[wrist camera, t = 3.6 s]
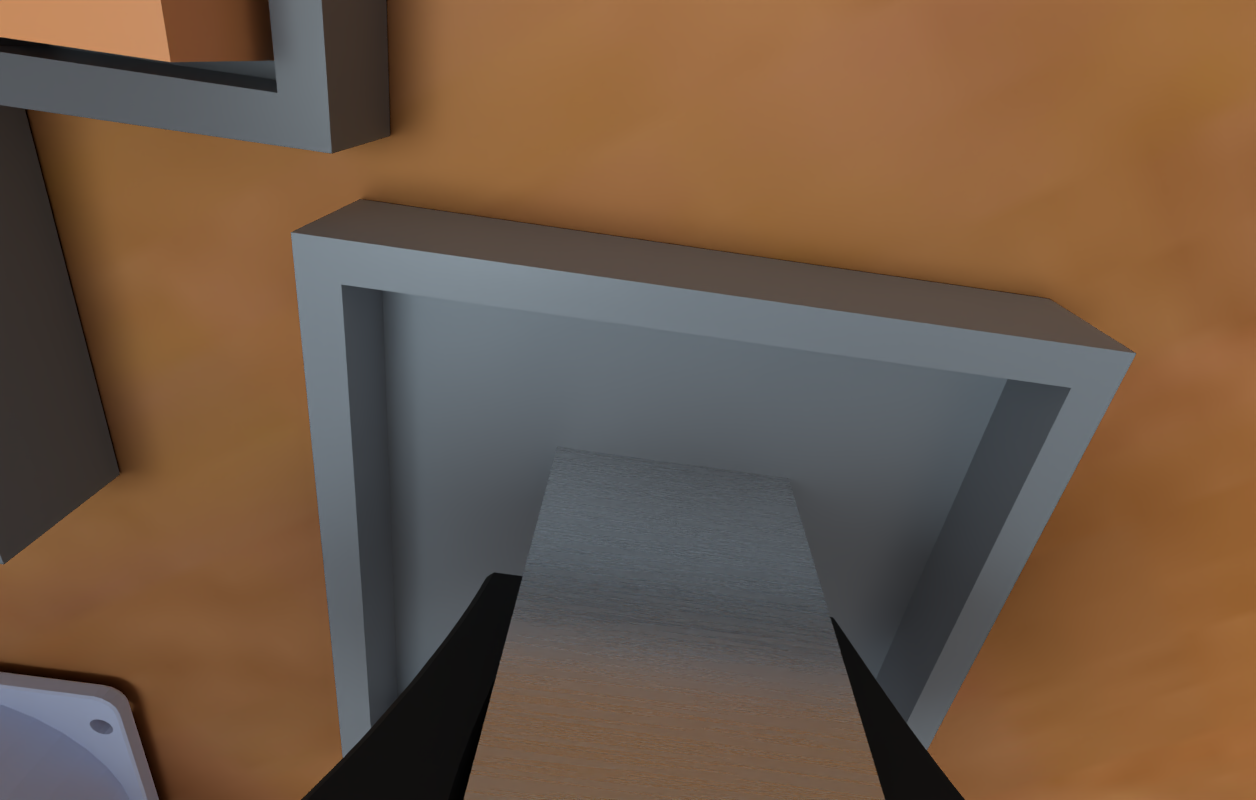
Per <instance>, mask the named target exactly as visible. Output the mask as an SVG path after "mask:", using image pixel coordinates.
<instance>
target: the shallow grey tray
mask: <svg viewBox="0 0 1256 800" xmlns="http://www.w3.org/2000/svg"><path fill="white" fill-rule="evenodd" d="M291 238H292V248H293V258H294V268H295V278H296V289H297V299H298V309H299V319H300V329H301V339H302V349H303V360H304V370H305V380H306V390H307V400H308V410H309V420H310V431H311V441H312V451H313V461H314V471H315V481H316V491H317V502H318V512H319V522H320V532H321V542H322V552H323V562H324V572H325V583H326V593H327V603H328V613H329V623H330V633H331V643H332V654H333V664H334V674H335V684H336V694H337V704H338V714H339V725H340V735H341V745H342V755H343V758H344V757H345V755H346V754H347V753H348V752H349V751H350V750H351V749H352V748H353V747H354V746H355V745H356V744H357V743H358V742H359V741H360V740H361V739H362V737H363V736H364V735H365V734H366V733H367V732H368V731H369V730H370V729H371V727H372V726H373V725H374V724H375V723H376V722H377V721H378V719H379V718H380V717H381V716H382V715H383V714H384V713H385V712H386V710H387V709H388V708H389V707H390V706H391V705H392V704H393V702H394V701H395V700H396V699H397V698H398V697H399V696H400V695H401V693H402V692H403V691H404V690H405V689H406V688H407V686H408V685H409V684H410V683H411V682H412V680H413V679H414V678H415V677H416V675H417V674H418V673H419V672H420V670H421V669H422V668H423V666H424V665H425V664H426V663H427V661H428V660H429V659H430V658H431V656H432V655H433V654H434V653H435V651H436V650H437V649H438V647H439V646H440V645H441V644H442V642H443V641H444V640H445V638H446V637H447V636H448V634H449V633H450V632H451V630H452V629H453V627H454V626H455V625H456V623H457V622H458V621H459V619H460V618H461V616H462V615H463V613H464V612H465V610H466V609H467V608H468V606H469V605H470V603H471V601H472V600H473V598H474V597H475V595H476V594H477V592H478V590H479V589H480V587H481V585H482V584H483V582H484V580H485V578H486V577H487V576H489V575H490V574H492V573H494V572H496V573H503V574H511V575H518V576H523V574H524V570H525V566H526V562H527V558H528V555H529V551H530V547H531V543H532V540H533V536H534V532H535V528H536V525H537V521H538V517H539V513H540V509H541V506H542V502H543V498H544V494H545V491H546V487H547V483H548V479H549V476H550V472H551V468H552V464H553V460H554V457H555V453H556V449H557V447H563V448H571V449H578V450H585V451H593V452H600V453H607V454H614V455H622V456H629V457H636V458H644V459H651V460H658V461H665V462H673V463H680V464H687V465H695V466H702V467H709V468H716V469H724V470H731V471H738V472H745V473H753V474H760V475H767V476H775V477H782V478H789V482H790V485H791V488H792V492H793V495H794V498H795V502H796V505H797V508H798V512H799V515H800V518H801V522H802V525H803V528H804V532H805V535H806V538H807V542H808V545H809V548H810V552H811V555H812V558H813V562H814V565H815V568H816V572H817V575H818V578H819V582H820V585H821V588H822V592H823V595H824V598H825V602H826V605H827V608H828V612H829V615H830V617H833V618H834V619H835V621H836V622H837V623H838V625H839V626H840V628H841V629H842V631H843V632H844V633H845V635H846V636H847V638H848V639H849V641H850V642H851V644H852V645H853V647H854V648H855V650H856V651H857V653H858V654H859V655H860V657H861V658H862V660H863V661H864V663H865V664H866V666H867V667H868V669H869V670H870V672H871V673H872V675H873V676H874V677H875V679H876V680H877V682H878V683H879V685H880V686H881V688H882V689H883V690H884V692H885V693H886V695H887V696H888V698H889V699H890V701H891V702H892V703H893V705H894V706H895V708H896V709H897V710H898V712H899V713H900V715H901V716H902V717H903V719H904V720H905V722H906V723H907V724H908V726H909V727H910V728H911V730H912V731H913V732H914V734H915V735H916V737H917V738H918V739H919V741H920V742H921V743H922V745H923V746H924V747H925V749H926V750H927V749H928V747H929V745H930V744H931V742H932V740H933V738H934V736H935V734H936V732H937V730H938V728H939V726H940V725H941V723H942V721H943V719H944V717H945V715H946V713H947V711H948V709H949V708H950V706H951V704H952V702H953V700H954V698H955V696H956V694H957V692H958V690H959V689H960V687H961V685H962V683H963V681H964V679H965V677H966V675H967V673H968V671H969V670H970V668H971V666H972V664H973V662H974V660H975V658H976V656H977V654H978V653H979V651H980V649H981V647H982V645H983V643H984V641H985V639H986V637H987V635H988V634H989V632H990V630H991V628H992V626H993V624H994V622H995V620H996V618H997V617H998V615H999V613H1000V611H1001V609H1002V607H1003V605H1004V603H1005V601H1006V599H1007V598H1008V596H1009V594H1010V592H1011V590H1012V588H1013V586H1014V584H1015V582H1016V580H1017V579H1018V577H1019V575H1020V573H1021V571H1022V569H1023V567H1024V565H1025V563H1026V562H1027V560H1028V558H1029V556H1030V554H1031V552H1032V550H1033V548H1034V546H1035V544H1036V543H1037V541H1038V539H1039V537H1040V535H1041V533H1042V531H1043V529H1044V527H1045V525H1046V524H1047V522H1048V520H1049V518H1050V516H1051V514H1052V512H1053V510H1054V508H1055V507H1056V505H1057V503H1058V501H1059V499H1060V497H1061V495H1062V493H1063V491H1064V489H1065V488H1066V486H1067V484H1068V482H1069V480H1070V478H1071V476H1072V474H1073V472H1074V471H1075V469H1076V467H1077V465H1078V463H1079V461H1080V459H1081V457H1082V455H1083V453H1084V452H1085V450H1086V448H1087V446H1088V444H1089V442H1090V440H1091V438H1092V436H1093V434H1094V433H1095V431H1096V429H1097V427H1098V425H1099V423H1100V421H1101V419H1102V417H1103V416H1104V414H1105V412H1106V410H1107V408H1108V406H1109V404H1110V402H1111V400H1112V398H1113V397H1114V395H1115V393H1116V391H1117V389H1118V387H1119V385H1120V383H1121V381H1122V380H1123V378H1124V376H1125V374H1126V372H1127V370H1128V368H1129V366H1130V364H1131V362H1132V361H1133V359H1134V357H1135V355H1136V353H1135V352H1133V351H1132V350H1130V349H1128V348H1127V347H1125V346H1124V345H1122V344H1120V343H1119V342H1117V341H1116V340H1114V339H1112V338H1111V337H1109V336H1108V335H1106V334H1105V333H1103V332H1101V331H1100V330H1098V329H1097V328H1095V327H1093V326H1092V325H1090V324H1089V323H1087V322H1085V321H1084V320H1082V319H1081V318H1079V317H1078V316H1076V315H1074V314H1073V313H1071V312H1070V311H1068V310H1066V309H1065V308H1063V307H1062V306H1060V305H1058V304H1057V303H1055V302H1054V301H1052V300H1050V299H1047V298H1040V297H1033V296H1026V295H1019V294H1012V293H1006V292H999V291H992V290H985V289H978V288H971V287H964V286H957V285H950V284H943V283H936V282H929V281H923V280H916V279H909V278H902V277H895V276H888V275H881V274H874V273H867V272H860V271H853V270H846V269H840V268H833V267H826V266H819V265H812V264H805V263H798V262H791V261H784V260H777V259H770V258H764V257H757V256H750V255H743V254H736V253H729V252H722V251H715V250H708V249H701V248H694V247H687V246H681V245H674V244H667V243H660V242H653V241H646V240H639V239H632V238H625V237H618V236H611V235H604V234H598V233H591V232H584V231H577V230H570V229H563V228H556V227H549V226H542V225H535V224H528V223H521V222H515V221H508V220H501V219H494V218H487V217H480V216H473V215H466V214H459V213H452V212H445V211H438V210H432V209H425V208H418V207H411V206H404V205H397V204H390V203H383V202H376V201H369V200H362V199H359V200H357V201H355V202H353V203H351V204H349V205H347V206H345V207H343V208H341V209H339V210H337V211H334V212H332V213H330V214H328V215H326V216H324V217H322V218H320V219H318V220H316V221H314V222H312V223H310V224H307V225H305V226H303V227H301V228H299V229H297V230H295V231H293V232H291Z"/></svg>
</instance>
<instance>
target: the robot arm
mask: <svg viewBox="0 0 1256 800" xmlns="http://www.w3.org/2000/svg"><path fill="white" fill-rule="evenodd" d="M522 577H523V576H518V575H511V574H503V573H496V572H494V573H492V574H490V575H489V576H487V577H486V578H485V580H484V582H483V584H482V585H481V587H480V589H479V590H478V592H477V594H476V595H475V597H474V598H473V600H472V601H471V603H470V605H469V606H468V608H467V609H466V610H465V612H464V613H463V615H462V616H461V618H460V619H459V621H458V622H457V623H456V625H455V626H454V627H453V629H452V630H451V632H450V633H449V634H448V636H447V637H446V638H445V640H444V641H443V642H442V644H441V645H440V646H439V647H438V649H437V650H436V651H435V653H434V654H433V655H432V656H431V658H430V659H429V660H428V661H427V663H426V664H425V665H424V666H423V668H422V669H421V670H420V672H419V673H418V674H417V675H416V677H415V678H414V679H413V680H412V682H411V683H410V684H409V685H408V686H407V688H406V689H405V690H404V691H403V692H402V693H401V695H400V696H399V697H398V698H397V699H396V700H395V701H394V702H393V704H392V705H391V706H390V707H389V708H388V709H387V710H386V712H385V713H384V714H383V715H382V716H381V717H380V718H379V719H378V721H377V722H376V723H375V724H374V725H373V726H372V727H371V729H370V730H369V731H368V732H367V733H366V734H365V735H364V736H363V737H362V739H361V740H360V741H359V742H358V743H357V744H356V745H355V746H354V747H353V748H352V749H351V750H350V751H349V752H348V753H347V754H346V755H345V757H344V758H343V759H342V760H341V761H340V762H339V763H338V764H337V765H336V766H335V767H334V768H333V769H332V770H331V771H330V772H329V773H328V774H327V775H326V776H325V777H324V778H323V779H322V780H321V781H320V782H319V783H318V784H317V785H316V786H315V787H314V788H313V789H312V790H311V791H310V792H309V793H308V794H307V795H306V796H305V797H304V798H303V799H301V800H464V796H465V792H466V788H467V785H468V781H469V777H470V773H471V770H472V766H473V762H474V758H475V755H476V751H477V747H478V743H479V739H480V736H481V732H482V728H483V724H484V721H485V717H486V713H487V709H488V706H489V702H490V698H491V694H492V690H493V687H494V683H495V679H496V675H497V672H498V668H499V664H500V660H501V656H502V653H503V649H504V645H505V641H506V638H507V634H508V630H509V626H510V623H511V619H512V615H513V611H514V607H515V604H516V600H517V596H518V592H519V589H520V585H521V581H522ZM830 618H831V622H832V625H833V628H834V631H835V635H836V638H837V641H838V645H839V648H840V651H841V655H842V658H843V661H844V665H845V668H846V671H847V675H848V678H849V681H850V685H851V688H852V691H853V695H854V698H855V701H856V705H857V708H858V711H859V715H860V718H861V721H862V725H863V728H864V731H865V735H866V738H867V741H868V745H869V748H870V751H871V755H872V758H873V761H874V765H875V768H876V771H877V775H878V778H879V781H880V785H881V788H882V791H883V795H884V798H885V800H965V799H964V798H963V797H962V796H961V794H960V793H959V792H958V791H957V789H956V788H955V787H954V786H953V784H952V783H951V782H950V780H949V779H948V778H947V777H946V775H945V774H944V773H943V771H942V770H941V769H940V767H939V766H938V765H937V764H936V762H935V761H934V760H933V758H932V757H931V756H930V754H929V753H928V752H927V750H926V749H925V747H924V746H923V745H922V743H921V742H920V741H919V739H918V738H917V737H916V735H915V734H914V732H913V731H912V730H911V728H910V727H909V726H908V724H907V723H906V722H905V720H904V719H903V717H902V716H901V715H900V713H899V712H898V710H897V709H896V708H895V706H894V705H893V703H892V702H891V701H890V699H889V698H888V696H887V695H886V693H885V692H884V690H883V689H882V688H881V686H880V685H879V683H878V682H877V680H876V679H875V677H874V676H873V675H872V673H871V672H870V670H869V669H868V667H867V666H866V664H865V663H864V661H863V660H862V658H861V657H860V655H859V654H858V653H857V651H856V650H855V648H854V647H853V645H852V644H851V642H850V641H849V639H848V638H847V636H846V635H845V633H844V632H843V631H842V629H841V628H840V626H839V625H838V623H837V622H836V621H835V619H834V618H833V617H830ZM0 800H159V798H158V795H157V792H156V788H155V785H154V782H153V779H152V776H151V772H150V769H149V766H148V763H147V760H146V756H145V753H144V750H143V747H142V743H141V740H140V737H139V734H138V731H137V727H136V724H135V721H134V718H133V715H132V711H131V708H130V705H129V702H128V699H127V698H126V696H125V695H124V694H123V693H122V692H121V691H119V690H117V689H115V688H113V687H111V686H107V685H100V684H93V683H85V682H77V681H69V680H61V679H53V678H46V677H38V676H30V675H22V674H14V673H6V672H0Z"/></svg>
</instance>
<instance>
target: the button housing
mask: <svg viewBox="0 0 1256 800" xmlns="http://www.w3.org/2000/svg"><path fill="white" fill-rule="evenodd" d="M268 1H269V11H270V22H271V32H272V42H273V52H274V61H218V62H166V61H159V60H152V59H145V58H139V57H132V56H125V55H118V54H112V53H105V52H98V51H91V50H85V49H78V48H71V47H64V46H58V45H51V44H44V43H37V42H31V41H24V40H17V39H10V38H4V37H0V105H3V106H10V107H17V108H24V109H31V110H38V111H44V112H51V113H58V114H65V115H72V116H79V117H86V118H92V119H99V120H106V121H113V122H120V123H127V124H134V125H140V126H147V127H154V128H161V129H168V130H175V131H181V132H188V133H195V134H202V135H209V136H216V137H223V138H229V139H236V140H243V141H250V142H257V143H264V144H271V145H277V146H284V147H291V148H298V149H305V150H312V151H318V152H325V153H335V152H338V151H342V150H345V149H348V148H352V147H355V146H358V145H362V144H365V143H368V142H372V141H375V140H378V139H382V138H385V137H388V136H390V109H389V74H388V39H387V4H386V0H268Z"/></svg>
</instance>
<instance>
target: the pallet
mask: <svg viewBox="0 0 1256 800" xmlns="http://www.w3.org/2000/svg"><path fill="white" fill-rule="evenodd" d="M118 475H120V473H119V469H118V466H117V462H116V458H115V454H114V450H113V446H112V442H111V439H110V435H109V431H108V427H107V423H106V419H105V416H104V412H103V408H102V404H101V400H100V396H99V392H98V389H97V385H96V381H95V377H94V373H93V369H92V366H91V362H90V358H89V354H88V350H87V346H86V342H85V339H84V335H83V331H82V327H81V323H80V319H79V315H78V312H77V308H76V304H75V300H74V296H73V292H72V289H71V285H70V281H69V277H68V273H67V269H66V265H65V262H64V258H63V254H62V250H61V246H60V242H59V239H58V235H57V231H56V227H55V223H54V219H53V215H52V212H51V208H50V204H49V200H48V196H47V192H46V188H45V185H44V181H43V177H42V173H41V169H40V165H39V162H38V158H37V154H36V150H35V146H34V142H33V138H32V135H31V131H30V127H29V123H28V119H27V115H26V111H25V109H24V108H17V107H10V106H3V105H0V564H5V563H6V562H8V561H9V560H10V559H11V558H13V557H14V556H15V555H17V554H18V553H19V552H20V551H22V550H23V549H24V548H26V547H27V546H28V545H30V544H31V543H32V542H33V541H35V540H36V539H37V538H39V537H40V536H41V535H42V534H44V533H45V532H46V531H48V530H49V529H50V528H51V527H53V526H54V525H55V524H57V523H58V522H59V521H60V520H62V519H63V518H64V517H66V516H67V515H68V514H69V513H71V512H72V511H73V510H75V509H76V508H77V507H78V506H80V505H81V504H82V503H84V502H85V501H86V500H88V499H89V498H90V497H91V496H93V495H94V494H95V493H97V492H98V491H99V490H100V489H102V488H103V487H104V486H106V485H107V484H108V483H109V482H111V481H112V480H113V479H115V478H116V477H117V476H118Z"/></svg>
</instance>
